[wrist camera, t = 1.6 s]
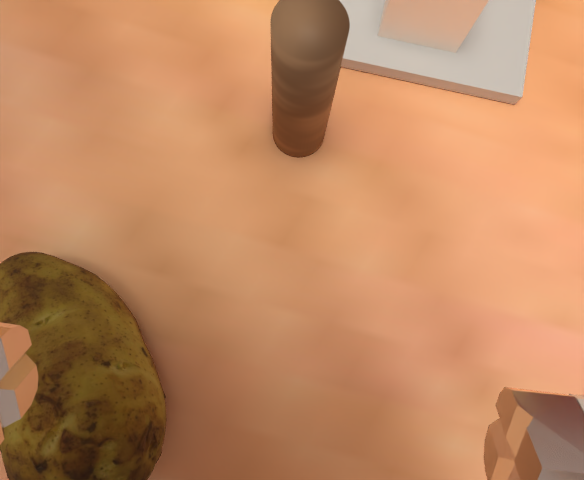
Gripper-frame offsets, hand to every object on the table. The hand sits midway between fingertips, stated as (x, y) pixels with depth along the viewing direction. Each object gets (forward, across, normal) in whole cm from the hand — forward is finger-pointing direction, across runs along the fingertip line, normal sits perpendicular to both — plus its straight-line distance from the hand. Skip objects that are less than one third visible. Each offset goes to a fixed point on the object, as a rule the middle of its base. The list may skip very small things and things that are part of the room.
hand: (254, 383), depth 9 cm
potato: (+14, +11, +13) cm, 23 cm away
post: (+24, +2, +2) cm, 24 cm away
